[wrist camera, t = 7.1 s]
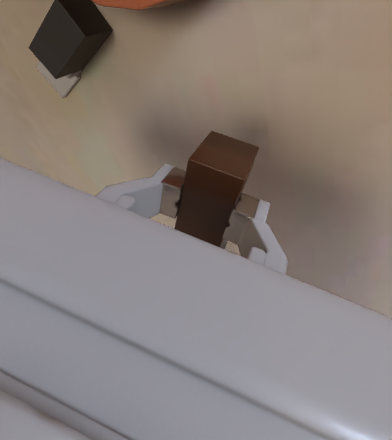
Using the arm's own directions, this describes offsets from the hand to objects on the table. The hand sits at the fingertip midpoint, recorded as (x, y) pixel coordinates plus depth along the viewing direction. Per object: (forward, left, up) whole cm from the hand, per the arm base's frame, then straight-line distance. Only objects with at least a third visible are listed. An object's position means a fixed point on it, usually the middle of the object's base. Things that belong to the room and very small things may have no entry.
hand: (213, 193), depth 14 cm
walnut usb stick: (0, +2, -2) cm, 3 cm away
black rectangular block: (+15, +2, -10) cm, 18 cm away
